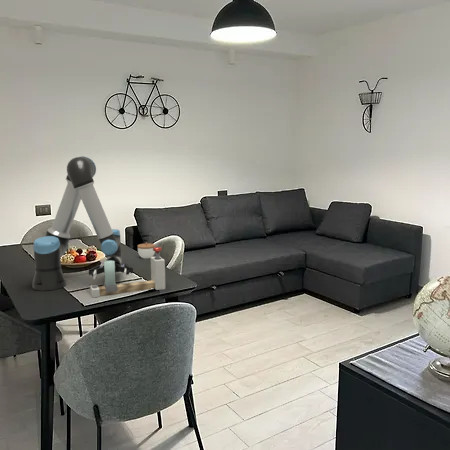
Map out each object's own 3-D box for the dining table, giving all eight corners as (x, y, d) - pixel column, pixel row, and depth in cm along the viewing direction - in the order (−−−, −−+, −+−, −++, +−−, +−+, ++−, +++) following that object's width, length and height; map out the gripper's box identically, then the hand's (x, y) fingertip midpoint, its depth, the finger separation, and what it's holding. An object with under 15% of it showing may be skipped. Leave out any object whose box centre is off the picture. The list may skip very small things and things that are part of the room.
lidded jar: (147, 254, 287) (147, 240, 286) (159, 257, 280) (158, 242, 279) (134, 257, 279) (133, 242, 277) (145, 260, 272) (145, 245, 271)
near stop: (92, 297, 205) (92, 288, 204) (90, 293, 211) (90, 284, 211) (99, 296, 206) (99, 287, 205) (97, 292, 212) (96, 283, 212)
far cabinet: (156, 290, 216) (155, 261, 213) (151, 284, 224) (150, 256, 221) (165, 288, 217) (164, 260, 215) (160, 283, 226) (159, 256, 223)
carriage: (106, 292, 207) (104, 263, 205) (103, 288, 213) (102, 260, 211) (117, 291, 209) (116, 262, 207) (114, 287, 215) (113, 259, 213)
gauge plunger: (154, 272, 217) (154, 249, 215) (152, 270, 220) (152, 247, 218) (163, 271, 218) (162, 248, 216) (160, 269, 222) (160, 246, 220)
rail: (99, 295, 208) (99, 289, 207) (97, 293, 211) (97, 286, 211) (154, 288, 218) (154, 282, 217) (152, 286, 222) (152, 280, 221)
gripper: (138, 270, 231) (138, 282, 210) (87, 272, 226) (81, 285, 206) (138, 255, 229) (137, 266, 209) (86, 257, 225) (80, 269, 205)
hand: (109, 275), depth 207 cm, fingers open, 13 cm apart
